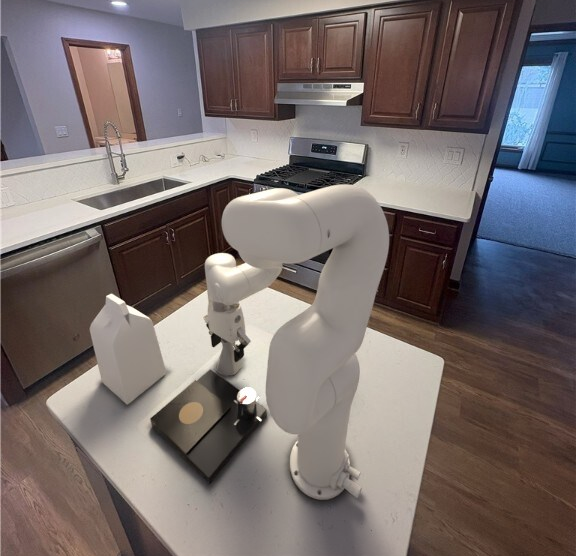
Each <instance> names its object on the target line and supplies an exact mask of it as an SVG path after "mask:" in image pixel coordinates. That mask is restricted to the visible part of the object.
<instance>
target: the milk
mask: <svg viewBox="0 0 576 556" xmlns="http://www.w3.org/2000/svg"><path fill="white" fill-rule="evenodd" d="M156 332H157V331H156V330H155V325H154V322H153V321H152V319H151V318H150V317H149V316H148V315H145V314H144V313H142V312H140V311H139V310H137V309H136V308H134V307H133V306H131V305H128V304H126V302H125V301H124V300H123V299H121V298H120V297H118V296H117V295H115V294H114V293H109V294H108V295H106V296H105V304H104V306H103V307H102V308H101V310H100V311H99V312H98V313H97V315H96V316H95V318H94V319H93V321H91V323H90V326H89V333H90V337H91V341H92V346H93V350H94V354H95V360H96V363H97V367H98V371H99V372H98V373H99V377H100V380H101V383H102V384H104V385H105V386H106V388H108V389H109V390H110V391H111V392H113V394H115V395H116V396H117V398H119V399H120V400H121V401H122V402H124V403H125V404H126V405H127V406H128V405H129V404H130V403H132V402H133V401H134V400H136V399H137V398H138V397H139V396H140V395H142V394H143V393H144V392H145V391H147V390H148V389H149V388H150V387H152V386H153V385H154V384H155V383H157V382H158V381H159V380H160V379H161V378H163V377H164V376H165V375H167V369H166V366H165V362H164V359H163V354H162V351H161V346H160V344H159V343H160V342H159V340H158V336H157V333H156Z"/></svg>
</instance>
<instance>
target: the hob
mask: <svg viewBox="0 0 576 556" xmlns="http://www.w3.org/2000/svg"><path fill="white" fill-rule="evenodd" d="M196 381H197V382H199V383H200V384H201V385H203V386H204V387H205V388H206V389H208V390H209V391H210V392H212V393H213V394H214V395H216V396H217V397H218V398H219V399H221V400H222V401H223V402H225V403H226V404H227V405H229V406H230V407H231V409H230V410H229V411H228V412H227V413H226V414H225V415H224V416H223V417H222V418H221V420H220V421H219V422H218V423H217V424H216V425H215V426H214V427H213V428H212V429H211V430H210V431H209V432H208V433H207V434H206V435H205V436H204V437H203V438H202V439H201V440H200V442H199V443H198V444H197V445H196V446H195V447H194V448H193V449H192V450H191V451H190V452H189V453H188V454H187V455H185V454H184V453H183V452H182V451H181V450H180V449H179V448H178V447H177V446H176V445H175V444H174V443H173V442H172V441H171V440H170V439H169V438H168V437H167V436H166V435H165V434H164V433H163V432H162V431H161V430H160V429H159V428H158V427H157V426H156V425H155V424H154V423H153V422H152V421H151V420H150V423H151V427H152V428H153V429H154V430H155V431H156V432H157V433H158V434H159V435H160V436H161V437H162V438H163V439H164V440H165V441H166V442H167V443H168V444H169V445H170V446H171V447H172V448H173V449H174V450H175V451H176V452H177V453H178V454H179V455H180V456H181V458H183V459H184V460H185V461H186V462H187V463H188V464H190V466H191V467H192V469H194V470H195V471H196V472H197V473H198V474H199V475H200V476H201V477H202V478H203V479H204V480H205V481H206V482H207V483H208V484H211V483H212V482H213V480H215V478H216V477H217V476H218V474H219V473H220V472H221V471H222V470H223V468H224V467H225V466H226V465H227V464H228V463H229V461H230V460H231V458H233V456H234V455H235V454H236V453H237V451H239V449H240V448H241V447H242V445H243V444H244V443H245V442H246V441H247V439H248V438H249V437H250V435H252V433H253V432H254V431H255V429H256V428H258V426H259V425H260V424H261V422H262V421H263V420H264V419H265V418H266V417H267V412H268V411H267V408H266V407H264V406H263V405H261V404H260V403H258V402H257V401H258V400H259V399H260V397H259V396H257V397H256V407H257V410H256V414H255V415H254V416H253V417H252V418H250V419H243V418H241V417H240V416H239V414H238V404H237V394H238V392H239V391H240V390H241V389H239V388H237V387H236V386H235V385H233V384H232V383H231V382H229V381H228V380H227V379H225V378H224V377H222V376H221V375H219V374H218V373H217V372H215V371H214V370H212V369H211V368H210V369H209V370H207V371H206V372H205V373H204V374H203V375H201V376H200V377H199V378H198V379H196Z"/></svg>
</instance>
